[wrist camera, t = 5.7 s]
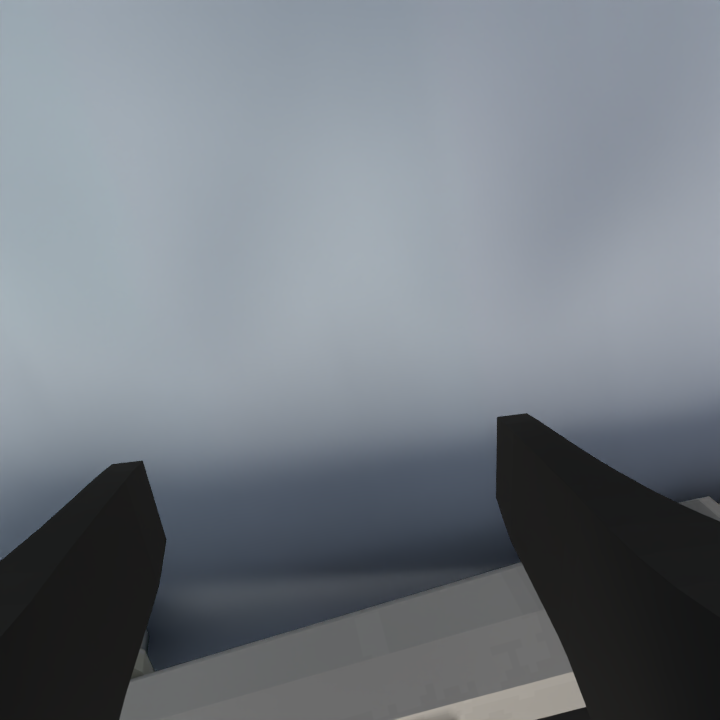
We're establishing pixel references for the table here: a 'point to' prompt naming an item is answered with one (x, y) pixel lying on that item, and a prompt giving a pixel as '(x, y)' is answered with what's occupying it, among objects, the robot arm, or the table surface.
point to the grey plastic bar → (386, 662)
